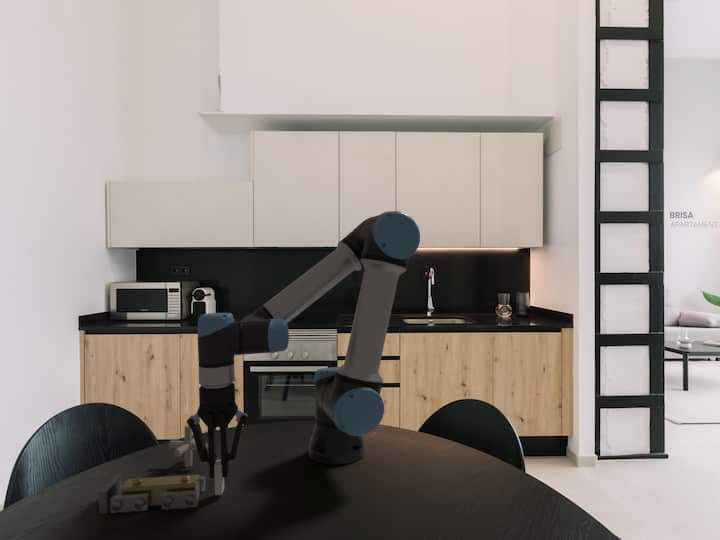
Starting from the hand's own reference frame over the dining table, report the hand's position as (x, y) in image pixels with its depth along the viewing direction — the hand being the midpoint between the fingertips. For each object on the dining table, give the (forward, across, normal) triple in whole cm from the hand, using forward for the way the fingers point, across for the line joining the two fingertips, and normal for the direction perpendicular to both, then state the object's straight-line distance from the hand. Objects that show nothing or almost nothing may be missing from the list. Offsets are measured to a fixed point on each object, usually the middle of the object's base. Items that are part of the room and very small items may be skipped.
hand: (219, 491), depth 100 cm
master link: (+1, +12, 0) cm, 12 cm away
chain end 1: (+1, +19, 0) cm, 19 cm away
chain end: (+1, +7, 0) cm, 7 cm away
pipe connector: (+1, +11, -18) cm, 21 cm away
